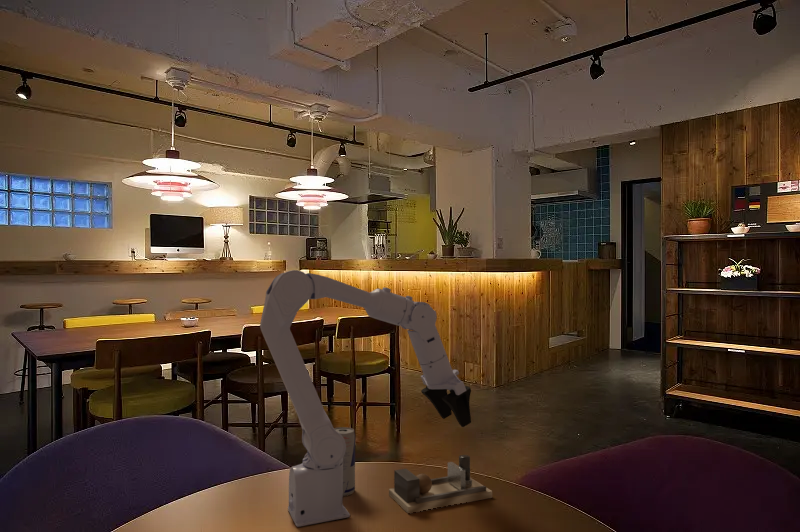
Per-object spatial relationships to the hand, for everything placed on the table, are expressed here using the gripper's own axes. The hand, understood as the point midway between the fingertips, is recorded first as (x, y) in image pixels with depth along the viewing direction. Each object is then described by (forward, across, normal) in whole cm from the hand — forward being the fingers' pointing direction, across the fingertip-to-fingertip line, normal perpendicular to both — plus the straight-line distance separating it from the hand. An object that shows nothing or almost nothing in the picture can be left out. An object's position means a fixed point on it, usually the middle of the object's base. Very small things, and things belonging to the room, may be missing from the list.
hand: (456, 420), depth 99 cm
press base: (+12, 0, +9) cm, 15 cm away
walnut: (+9, 0, +12) cm, 15 cm away
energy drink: (+5, +10, +25) cm, 27 cm away
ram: (+12, 0, +4) cm, 13 cm away
